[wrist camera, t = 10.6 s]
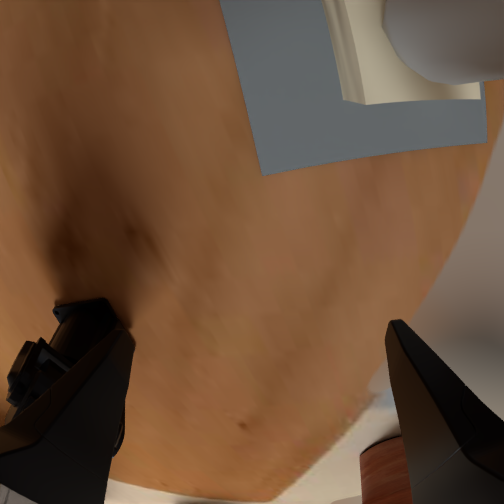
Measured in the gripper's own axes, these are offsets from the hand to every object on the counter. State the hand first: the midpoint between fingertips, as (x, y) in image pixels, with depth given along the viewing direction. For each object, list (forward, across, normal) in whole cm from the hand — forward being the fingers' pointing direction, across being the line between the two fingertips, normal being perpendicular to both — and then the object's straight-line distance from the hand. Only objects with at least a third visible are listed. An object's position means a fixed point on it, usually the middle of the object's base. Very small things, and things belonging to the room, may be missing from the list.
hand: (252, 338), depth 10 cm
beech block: (+14, -9, -10) cm, 19 cm away
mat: (+14, -8, -8) cm, 18 cm away
